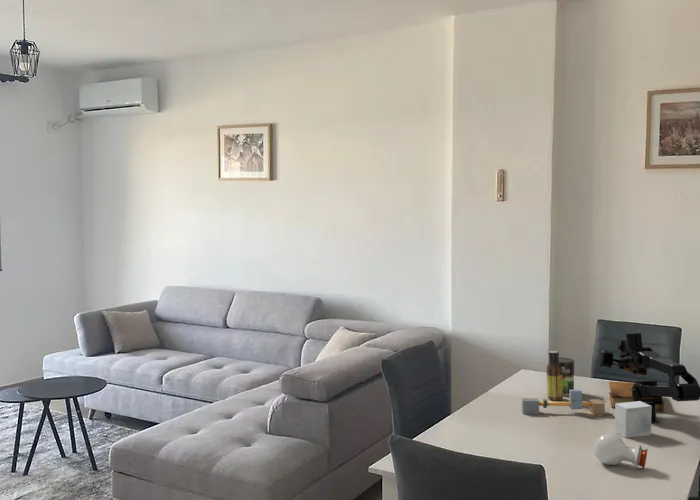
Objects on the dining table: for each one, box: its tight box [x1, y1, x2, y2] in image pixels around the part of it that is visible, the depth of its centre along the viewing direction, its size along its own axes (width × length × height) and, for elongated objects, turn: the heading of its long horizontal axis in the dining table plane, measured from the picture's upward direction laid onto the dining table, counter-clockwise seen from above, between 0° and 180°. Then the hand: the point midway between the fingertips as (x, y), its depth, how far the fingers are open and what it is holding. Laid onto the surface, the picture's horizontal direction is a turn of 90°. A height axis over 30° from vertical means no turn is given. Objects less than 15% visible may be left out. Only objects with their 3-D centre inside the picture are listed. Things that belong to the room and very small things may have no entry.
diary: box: [608, 380, 665, 413], centre depth 273 cm, size 23×19×6 cm
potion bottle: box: [593, 433, 649, 470], centre depth 206 cm, size 9×10×15 cm
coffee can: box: [558, 356, 575, 396], centre depth 289 cm, size 10×10×14 cm
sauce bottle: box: [546, 350, 564, 402], centre depth 279 cm, size 7×6×20 cm
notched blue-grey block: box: [568, 389, 583, 410], centre depth 260 cm, size 4×3×7 cm
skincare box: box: [613, 401, 652, 438], centre depth 235 cm, size 10×6×10 cm, turn 105°
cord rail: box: [521, 397, 606, 417], centre depth 260 cm, size 30×6×5 cm, turn 84°
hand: (613, 364), depth 274 cm, fingers open, 9 cm apart
